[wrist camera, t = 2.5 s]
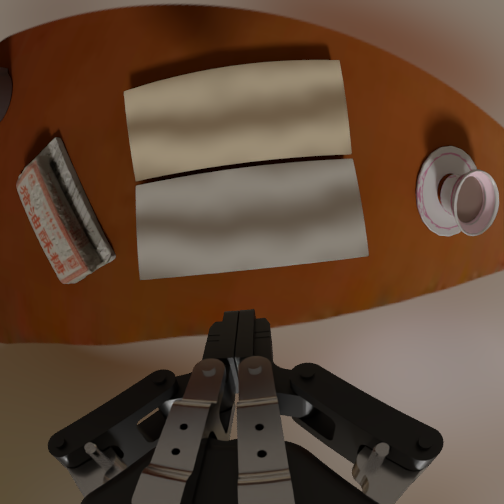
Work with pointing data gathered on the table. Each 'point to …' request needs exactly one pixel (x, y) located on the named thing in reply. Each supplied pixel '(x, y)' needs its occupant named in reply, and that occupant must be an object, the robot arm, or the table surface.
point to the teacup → (456, 194)
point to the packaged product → (62, 215)
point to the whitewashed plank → (250, 219)
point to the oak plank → (237, 116)
